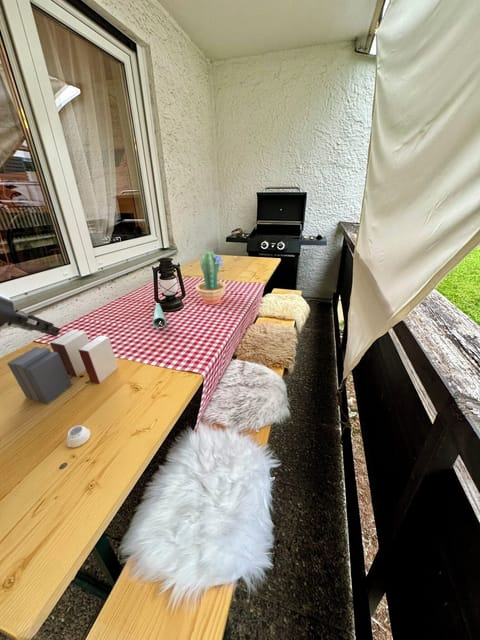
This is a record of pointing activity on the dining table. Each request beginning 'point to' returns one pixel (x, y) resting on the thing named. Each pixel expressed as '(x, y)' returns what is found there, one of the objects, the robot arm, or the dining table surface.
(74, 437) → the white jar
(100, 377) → the ivory book
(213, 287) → the potted cactus
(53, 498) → the dining table surface
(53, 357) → the grey books
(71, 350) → the ivory books
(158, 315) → the long green cone
